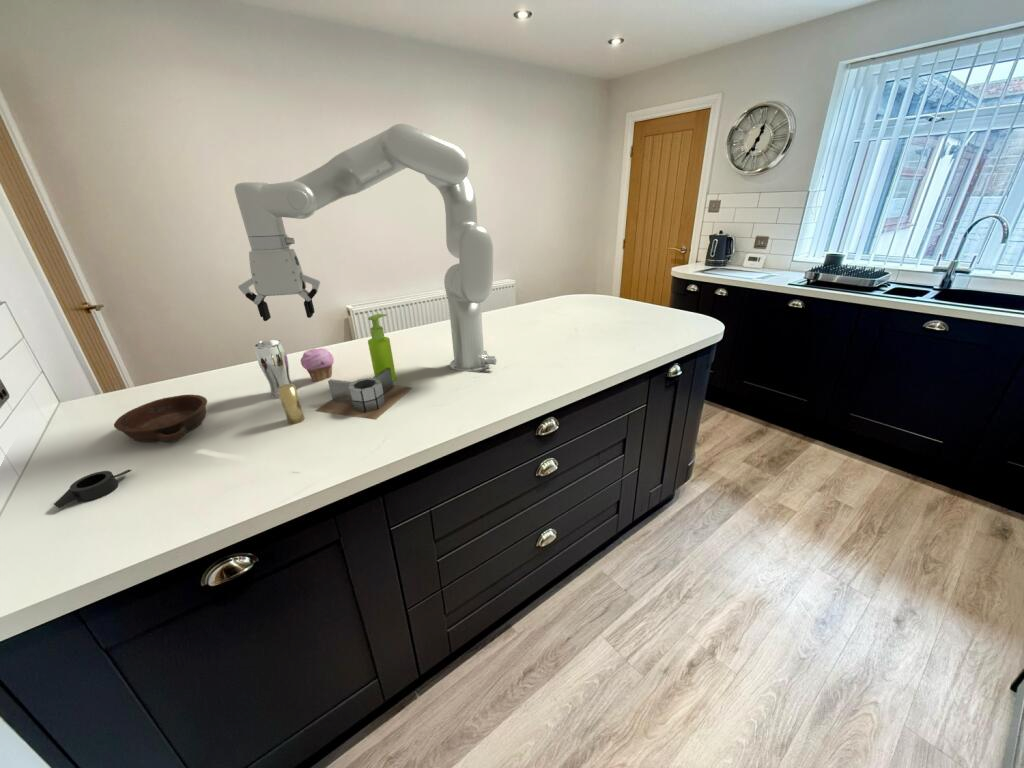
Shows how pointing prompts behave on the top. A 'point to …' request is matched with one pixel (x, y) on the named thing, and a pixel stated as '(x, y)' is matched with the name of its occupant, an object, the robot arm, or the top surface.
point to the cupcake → (318, 363)
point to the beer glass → (273, 363)
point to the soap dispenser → (380, 348)
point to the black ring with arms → (90, 488)
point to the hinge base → (348, 410)
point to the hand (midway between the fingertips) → (289, 318)
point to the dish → (163, 418)
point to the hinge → (363, 391)
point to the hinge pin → (291, 403)
